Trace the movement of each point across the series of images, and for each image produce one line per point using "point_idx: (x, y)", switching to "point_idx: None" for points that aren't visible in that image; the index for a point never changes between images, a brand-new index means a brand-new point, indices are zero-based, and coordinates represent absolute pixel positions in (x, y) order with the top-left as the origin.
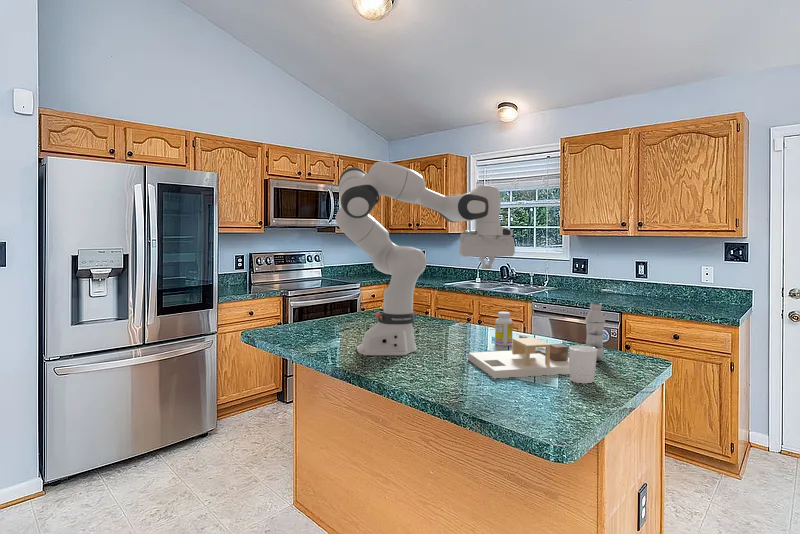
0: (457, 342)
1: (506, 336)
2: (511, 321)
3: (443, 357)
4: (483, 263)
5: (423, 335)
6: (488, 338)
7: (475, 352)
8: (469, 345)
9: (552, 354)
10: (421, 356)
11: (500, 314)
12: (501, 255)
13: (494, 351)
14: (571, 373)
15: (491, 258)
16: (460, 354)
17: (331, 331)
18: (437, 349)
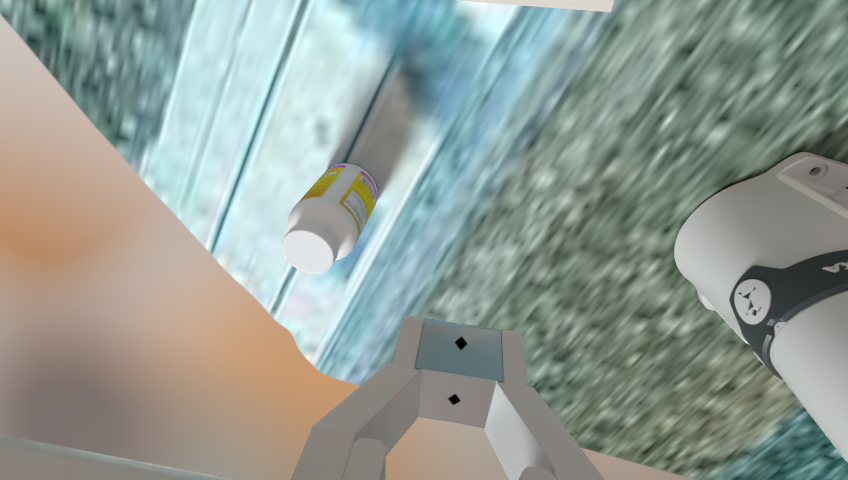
0: (489, 257)
1: (341, 176)
2: (296, 207)
3: (673, 81)
4: (541, 399)
5: (543, 353)
6: (365, 269)
7: (577, 8)
8: (471, 212)
9: None
10: (745, 122)
11: (331, 241)
12: (107, 473)
13: (484, 1)
14: None
15: (374, 461)
16: (578, 106)
17: (769, 458)
18: (613, 197)
